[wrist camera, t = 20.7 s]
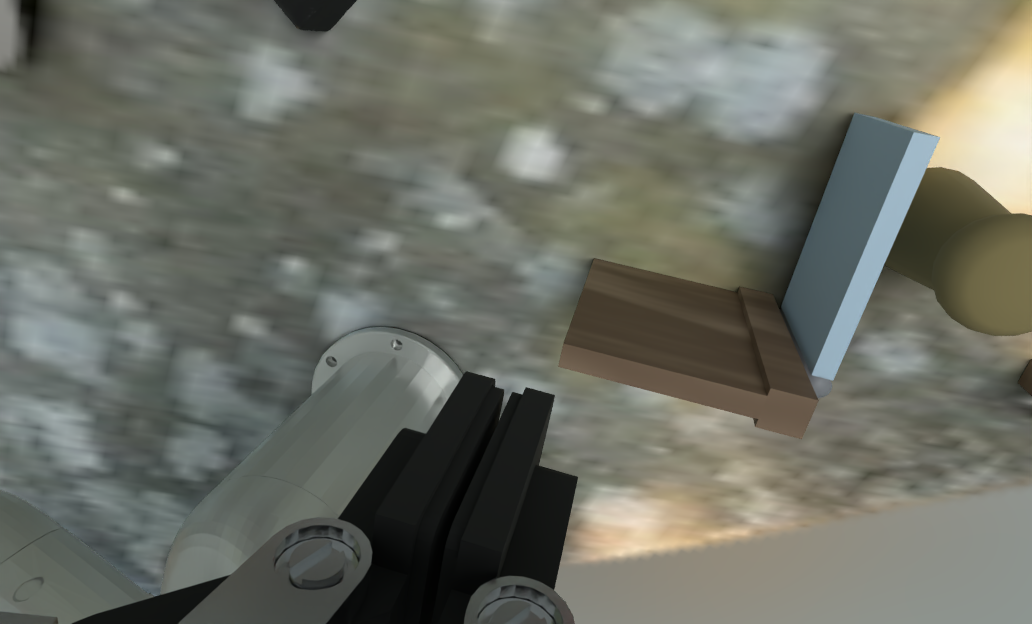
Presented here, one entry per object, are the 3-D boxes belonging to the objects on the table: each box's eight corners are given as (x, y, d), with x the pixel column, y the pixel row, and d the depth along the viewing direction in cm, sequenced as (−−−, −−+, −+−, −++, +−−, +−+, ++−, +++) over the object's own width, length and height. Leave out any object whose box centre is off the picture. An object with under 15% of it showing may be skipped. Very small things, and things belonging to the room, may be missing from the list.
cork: (842, 248, 37) (908, 321, 27) (905, 149, 34) (1004, 189, 24) (942, 290, 36) (1045, 380, 26) (1013, 193, 34) (1158, 252, 24)
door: (876, 117, 34) (942, 137, 25) (793, 327, 39) (826, 400, 30) (852, 112, 34) (911, 131, 26) (773, 322, 39) (801, 394, 31)
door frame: (1044, 392, 37) (1218, 549, 25) (588, 281, 41) (556, 374, 29) (1062, 363, 36) (1250, 511, 25) (595, 252, 40) (565, 335, 28)
